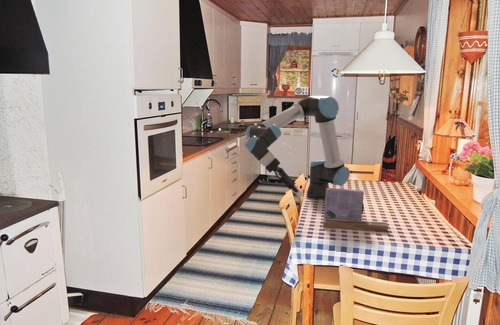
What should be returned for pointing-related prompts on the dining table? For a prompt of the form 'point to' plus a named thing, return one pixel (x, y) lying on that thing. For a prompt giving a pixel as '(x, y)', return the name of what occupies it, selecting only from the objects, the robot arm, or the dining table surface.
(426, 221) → the dining table surface
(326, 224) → the walnut board
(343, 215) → the cake pan box
